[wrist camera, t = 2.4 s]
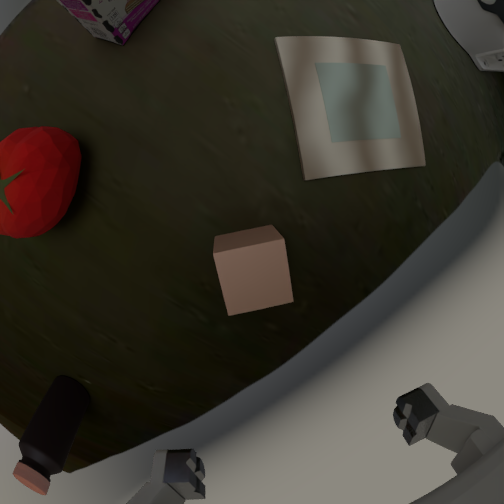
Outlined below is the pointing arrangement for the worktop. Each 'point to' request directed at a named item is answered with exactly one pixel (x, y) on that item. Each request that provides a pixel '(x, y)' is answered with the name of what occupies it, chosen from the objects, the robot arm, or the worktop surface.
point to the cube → (252, 269)
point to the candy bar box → (109, 16)
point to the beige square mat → (350, 105)
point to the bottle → (51, 433)
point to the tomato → (36, 179)
